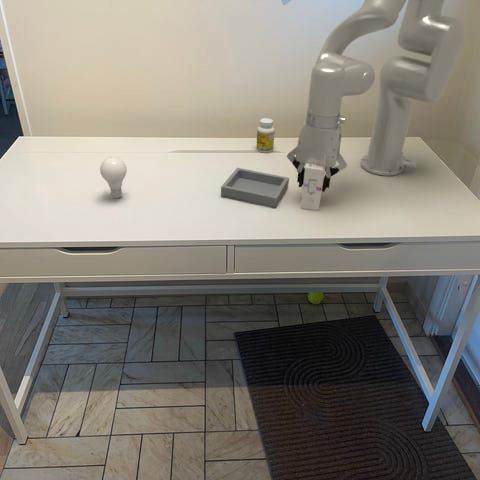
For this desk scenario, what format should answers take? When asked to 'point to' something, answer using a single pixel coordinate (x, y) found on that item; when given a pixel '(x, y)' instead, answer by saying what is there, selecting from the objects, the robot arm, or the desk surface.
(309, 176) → the ink cartridge box
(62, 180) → the desk surface
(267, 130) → the supplement bottle
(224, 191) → the tray
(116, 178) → the lightbulb
